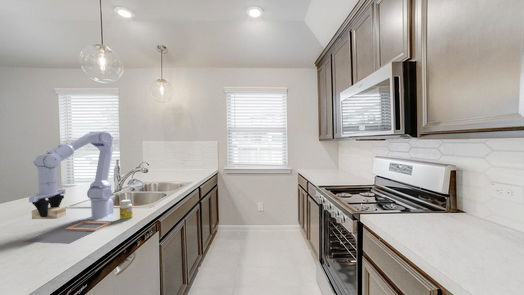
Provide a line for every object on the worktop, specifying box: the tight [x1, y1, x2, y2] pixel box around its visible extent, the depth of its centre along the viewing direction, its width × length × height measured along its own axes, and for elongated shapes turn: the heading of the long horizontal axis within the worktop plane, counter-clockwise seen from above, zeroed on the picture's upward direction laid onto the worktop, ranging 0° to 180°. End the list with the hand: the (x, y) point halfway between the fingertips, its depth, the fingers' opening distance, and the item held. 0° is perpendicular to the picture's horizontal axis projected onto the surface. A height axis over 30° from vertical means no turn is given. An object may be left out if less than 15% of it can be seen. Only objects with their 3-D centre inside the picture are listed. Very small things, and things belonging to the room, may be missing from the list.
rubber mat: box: [22, 219, 117, 245], centre depth 99 cm, size 24×20×1 cm
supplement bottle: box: [119, 199, 134, 221], centre depth 114 cm, size 5×5×10 cm
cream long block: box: [31, 206, 67, 220], centre depth 96 cm, size 10×4×4 cm, turn 92°
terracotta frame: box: [66, 221, 112, 232], centre depth 103 cm, size 9×14×1 cm, turn 83°
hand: (49, 214), depth 96 cm, fingers closed on cream long block, 4 cm apart
